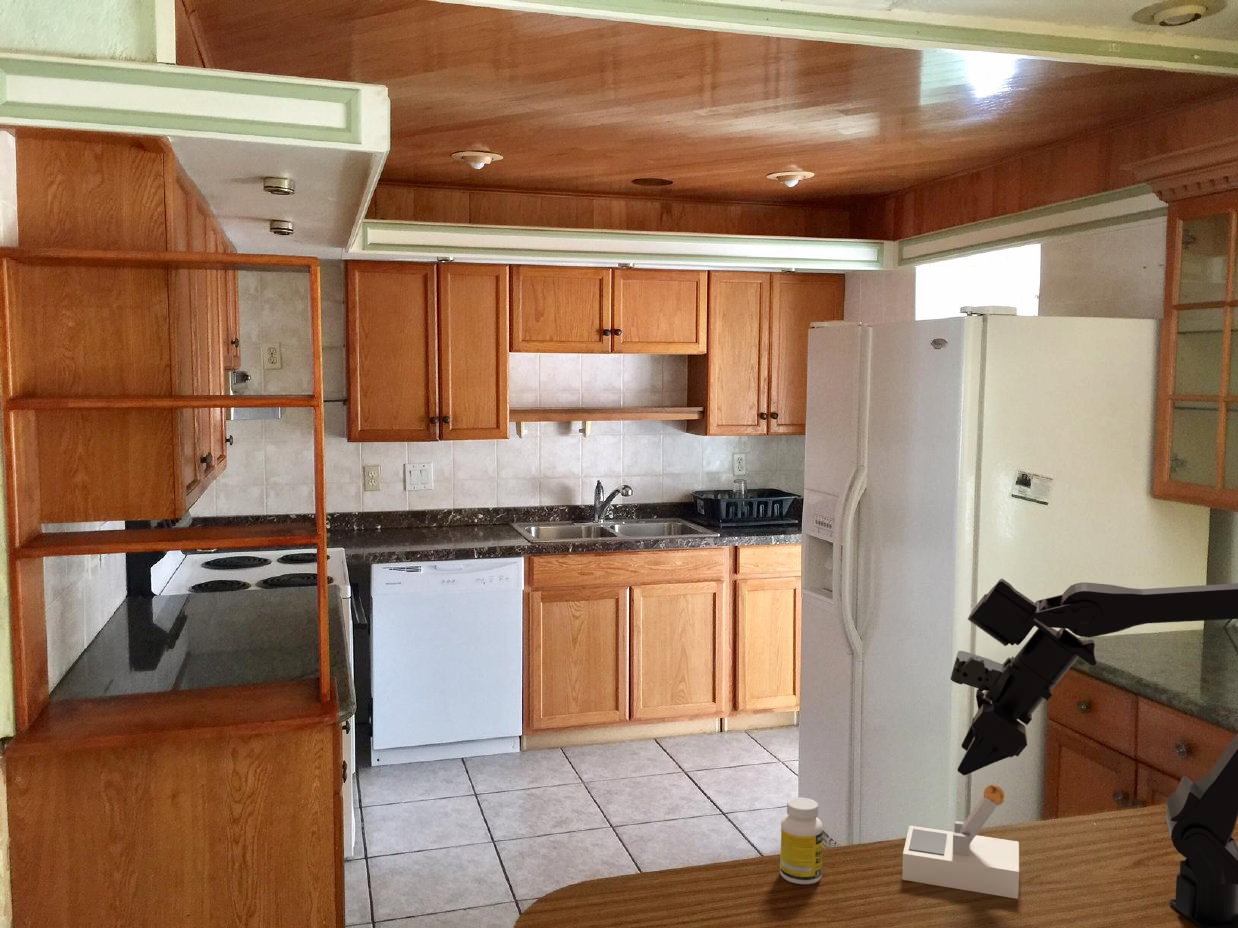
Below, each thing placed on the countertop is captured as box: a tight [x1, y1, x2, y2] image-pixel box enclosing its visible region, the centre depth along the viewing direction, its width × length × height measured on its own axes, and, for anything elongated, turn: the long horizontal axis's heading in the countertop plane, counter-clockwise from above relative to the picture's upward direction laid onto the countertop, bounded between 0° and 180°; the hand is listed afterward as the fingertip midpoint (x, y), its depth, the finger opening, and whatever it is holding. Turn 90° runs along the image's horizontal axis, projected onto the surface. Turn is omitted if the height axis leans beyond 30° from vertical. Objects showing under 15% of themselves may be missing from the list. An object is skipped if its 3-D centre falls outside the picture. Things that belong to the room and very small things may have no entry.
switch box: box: [902, 820, 1020, 900], centre depth 135 cm, size 14×9×6 cm, turn 69°
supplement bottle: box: [779, 797, 824, 885], centre depth 134 cm, size 5×5×10 cm
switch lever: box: [960, 784, 1006, 843], centre depth 134 cm, size 3×3×10 cm
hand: (962, 760), depth 134 cm, fingers open, 9 cm apart
